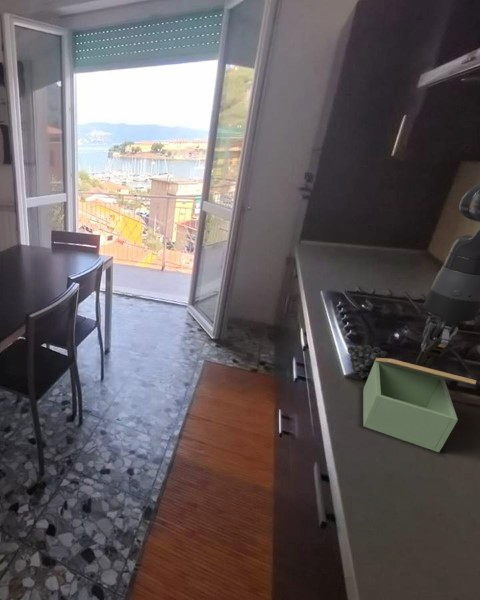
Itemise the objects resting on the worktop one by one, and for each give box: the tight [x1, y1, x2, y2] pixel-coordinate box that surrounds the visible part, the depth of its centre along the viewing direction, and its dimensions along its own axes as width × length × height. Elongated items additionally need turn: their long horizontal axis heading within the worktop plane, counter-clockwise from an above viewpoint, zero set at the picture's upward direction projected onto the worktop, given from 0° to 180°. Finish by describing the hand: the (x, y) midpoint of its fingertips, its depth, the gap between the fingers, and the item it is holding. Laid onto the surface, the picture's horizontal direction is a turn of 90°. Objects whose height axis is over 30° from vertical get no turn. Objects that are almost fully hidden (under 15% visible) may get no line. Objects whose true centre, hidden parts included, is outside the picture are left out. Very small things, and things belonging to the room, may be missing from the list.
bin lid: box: [375, 357, 477, 385], centre depth 77 cm, size 16×13×1 cm
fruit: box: [347, 344, 393, 380], centre depth 97 cm, size 9×8×15 cm
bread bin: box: [362, 361, 459, 453], centre depth 80 cm, size 16×13×9 cm
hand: (421, 366), depth 75 cm, fingers closed
